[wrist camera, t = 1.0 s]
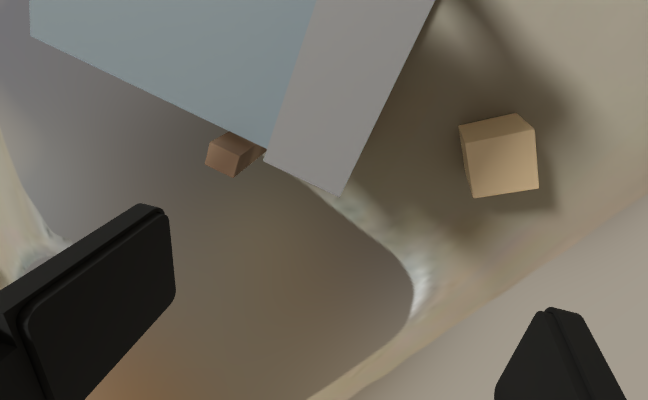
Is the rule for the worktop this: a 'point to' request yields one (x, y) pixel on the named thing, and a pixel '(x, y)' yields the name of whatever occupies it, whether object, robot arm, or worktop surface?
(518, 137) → the tan block
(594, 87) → the worktop surface
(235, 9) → the trapdoor
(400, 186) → the worktop surface
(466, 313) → the worktop surface
